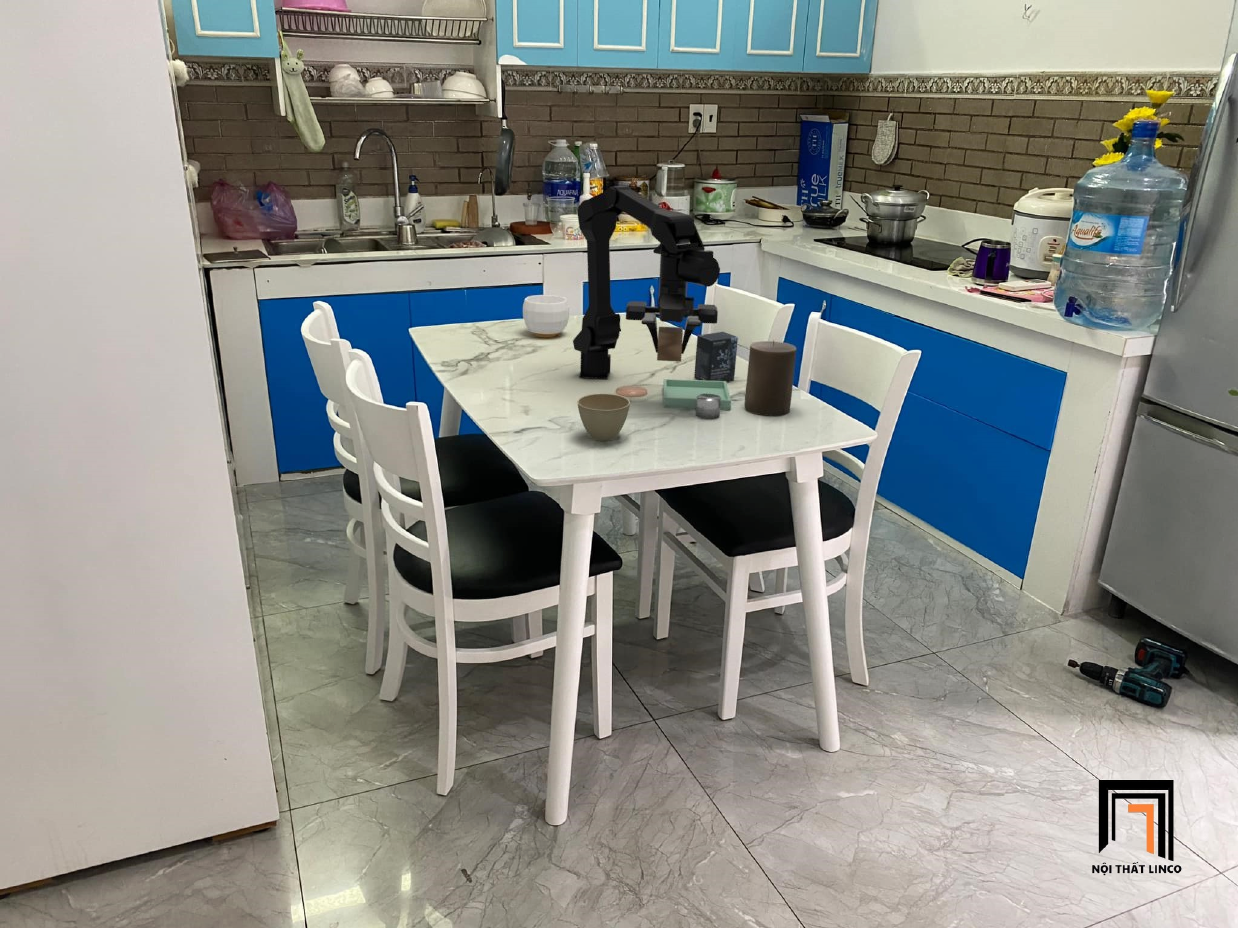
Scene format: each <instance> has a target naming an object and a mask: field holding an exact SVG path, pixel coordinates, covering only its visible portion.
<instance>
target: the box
mask: <svg viewBox="0 0 1238 928" xmlns="http://www.w3.org/2000/svg"><path fill="white" fill-rule="evenodd" d="M696 336H697V337H696V338H697V339H696V348H695V349H696V350H695V361H694V363H695V364H694V375H693V380H705V381H726V382H730V381H734V380H735V374H736V364H737V361H736V360H737V353H738V352H737V351H738V340H739V338H738V336H736V335H733V334H731V333H728V332H725V331H719V332H712V333H705V334H697V335H696Z"/></svg>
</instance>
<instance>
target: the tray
mask: <svg viewBox="0 0 1238 928" xmlns="http://www.w3.org/2000/svg"><path fill="white" fill-rule="evenodd" d="M662 386H663V387H662V390H663V393H662V395H663V408H665V409H688V410H689V409H691V410H692V409H693V410H696V401H697V396H698V395H700V394H714V395H718V396H720V397H721V406H720V411H731V407H732V399H731V396H730V391H729V388H728V383H727V381H705V380H697V379H675V378H674V379H673V378H671V379H670V378H663V384H662Z"/></svg>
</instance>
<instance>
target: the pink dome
mask: <svg viewBox="0 0 1238 928" xmlns="http://www.w3.org/2000/svg"><path fill="white" fill-rule="evenodd" d="M615 393H616V395H620V396H623V397H626V398H640V397H644V396H646V395H648V393H649V392H648V388H646V387H643V386H638V385H623V386H618V387H617V388H616V389H615Z"/></svg>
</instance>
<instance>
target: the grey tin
mask: <svg viewBox="0 0 1238 928" xmlns="http://www.w3.org/2000/svg"><path fill="white" fill-rule="evenodd" d="M720 406H721V397H720V396H718V395H714V394H700V395H698V396H697V401H696V409H695V418H698V419H702V420H709V421H711V420H717V419H719V418H720V417H721V410H720Z"/></svg>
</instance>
